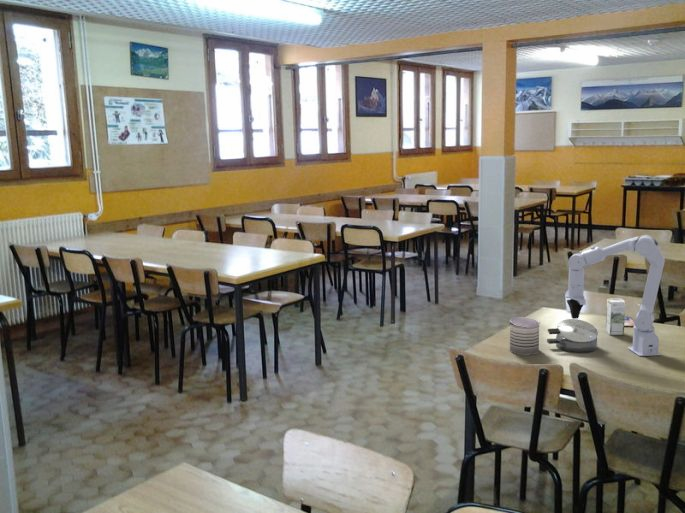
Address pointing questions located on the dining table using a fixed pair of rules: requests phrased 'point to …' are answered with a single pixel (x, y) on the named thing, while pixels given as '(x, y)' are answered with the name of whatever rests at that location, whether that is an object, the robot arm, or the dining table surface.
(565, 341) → the cooker pot
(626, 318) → the smartphone
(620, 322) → the syrup box
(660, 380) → the dining table surface
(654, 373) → the dining table surface
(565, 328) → the cooker lid
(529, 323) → the can
